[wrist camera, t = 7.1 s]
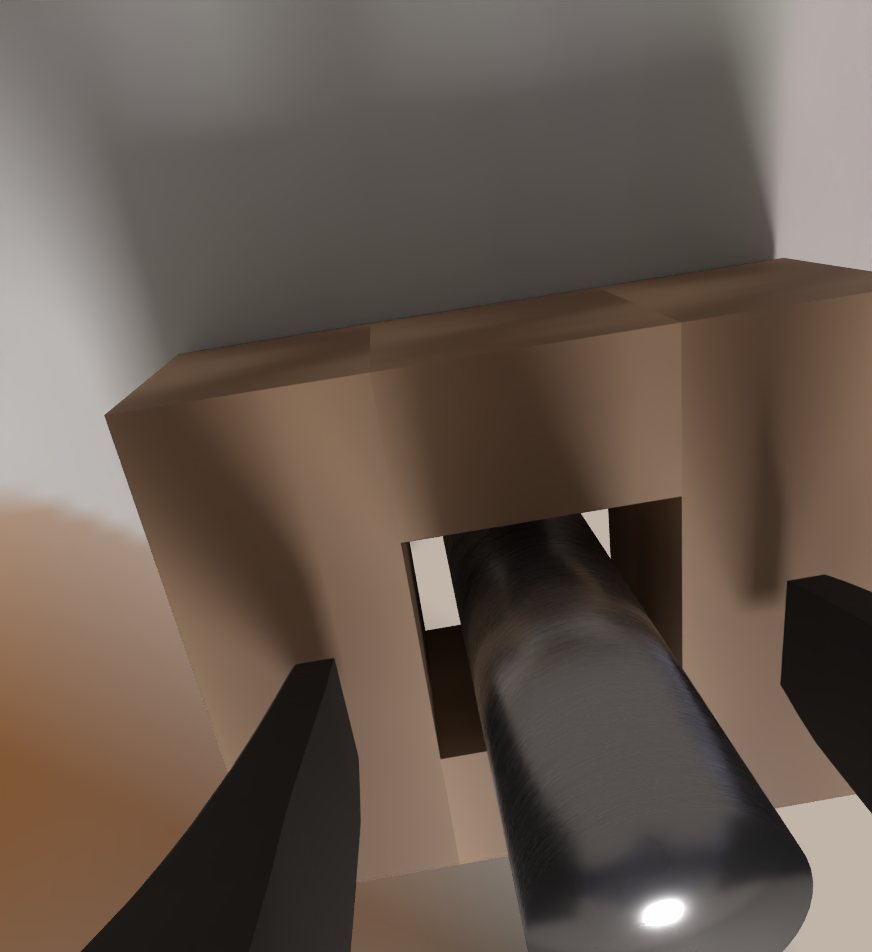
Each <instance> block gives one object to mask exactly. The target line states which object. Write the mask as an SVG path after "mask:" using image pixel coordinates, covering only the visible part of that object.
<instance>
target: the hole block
mask: <svg viewBox="0 0 872 952" xmlns="http://www.w3.org/2000/svg"><path fill="white" fill-rule="evenodd" d="M104 416H105V418H106V421H107V424H108V427H109V430H110V433H111V436H112V439H113V442H114V444H115V447H116V450H117V453H118V456H119V459H120V462H121V465H122V468H123V471H124V473H125V476H126V479H127V482H128V485H129V488H130V491H131V494H132V497H133V499H134V502H135V505H136V508H137V511H138V514H139V517H140V520H141V523H142V525H143V528H144V531H145V534H146V537H147V540H148V543H149V546H150V549H151V552H152V554H153V557H154V560H155V563H156V566H157V569H158V572H159V575H160V578H161V580H162V583H163V586H164V589H165V592H166V595H167V598H168V600H169V604H170V606H171V609H172V612H173V615H174V618H175V621H176V624H177V627H178V629H179V632H180V635H181V638H182V641H183V644H184V647H185V650H186V653H187V655H188V659H189V661H190V664H191V667H192V670H193V673H194V676H195V679H196V681H197V684H198V687H199V690H200V693H201V696H202V699H203V702H204V705H205V708H206V711H207V713H208V716H209V719H210V722H211V725H212V728H213V731H214V734H215V737H216V740H217V742H218V745H219V748H220V751H221V754H222V757H223V760H224V762H225V766H226V768H227V771H228V772H229V771H230V769H231V768H232V766H233V765H234V763H235V761H236V760H237V758H238V757H239V755H240V754H241V752H242V751H243V749H244V747H245V746H246V744H247V743H248V741H249V740H250V738H251V737H252V735H253V733H254V732H255V730H256V729H257V727H258V725H259V724H260V722H261V720H262V719H263V717H264V715H265V714H266V712H267V710H268V709H269V707H270V705H271V704H272V702H273V700H274V699H275V697H276V695H277V693H278V692H279V690H280V688H281V686H282V685H283V683H284V681H285V679H286V678H287V676H288V674H289V673H290V671H291V670H292V668H293V667H294V666H295V665H296V664H301V663H307V662H312V661H318V660H324V659H330V658H335V662H336V666H337V670H338V675H339V679H340V683H341V687H342V691H343V695H344V699H345V703H346V707H347V711H348V715H349V720H350V724H351V728H352V732H353V736H354V740H355V744H356V748H357V752H358V756H359V775H360V808H361V827H360V841H359V853H358V866H357V879H356V883H358V882H363V881H369V880H375V879H380V878H386V877H392V876H397V875H403V874H409V873H414V872H420V871H426V870H431V869H437V868H442V867H448V866H454V865H459V864H465V863H470V862H476V861H481V860H487V859H493V858H499V857H504V856H508V852H507V847H506V842H505V837H504V832H503V827H502V822H501V817H500V813H499V808H498V803H497V798H496V793H495V788H494V783H493V778H492V774H491V769H490V764H489V759H488V754H487V749H486V744H485V740H484V735H483V730H482V725H481V720H480V715H479V710H478V705H477V701H476V696H475V691H474V686H473V681H472V676H471V671H470V666H469V662H468V657H467V652H466V647H465V642H464V637H463V632H462V627H461V625H456V626H451V627H445V628H439V629H433V630H427V631H425V626H424V621H423V615H422V610H421V604H420V598H419V593H418V587H417V581H416V576H415V570H414V565H413V559H412V553H411V547H410V541H416V540H422V539H428V538H434V537H440V536H446V535H452V534H458V533H464V532H470V531H476V530H482V529H488V528H494V527H500V526H506V525H512V524H518V523H524V522H530V521H536V520H542V519H548V518H554V517H560V516H566V515H572V514H578V513H583V512H590V511H596V510H602V509H607V508H608V512H609V533H610V553H611V560H612V562H613V563H614V565H615V566H616V568H617V569H618V571H619V572H620V574H621V575H622V577H623V579H624V580H625V582H626V583H627V585H628V586H629V588H630V589H631V591H632V592H633V594H634V595H635V597H636V598H637V600H638V601H639V603H640V604H641V606H642V607H643V609H644V610H645V612H646V614H647V615H648V617H649V618H650V620H651V621H652V623H653V624H654V626H655V627H656V629H657V630H658V632H659V633H660V635H661V636H662V638H663V639H664V641H665V642H666V644H667V645H668V647H669V649H670V650H671V652H672V653H673V655H674V656H675V658H676V659H677V661H678V662H679V664H680V665H681V667H682V668H683V670H684V671H685V673H686V674H687V676H688V677H689V679H690V680H691V682H692V684H693V685H694V687H695V688H696V690H697V691H698V693H699V694H700V696H701V697H702V699H703V700H704V702H705V703H706V705H707V706H708V708H709V709H710V711H711V712H712V714H713V715H714V717H715V719H716V720H717V722H718V723H719V725H720V726H721V728H722V729H723V731H724V732H725V734H726V735H727V737H728V738H729V740H730V741H731V743H732V744H733V746H734V747H735V749H736V751H737V752H738V754H739V755H740V757H741V758H742V760H743V761H744V763H745V764H746V766H747V767H748V769H749V770H750V772H751V773H752V775H753V776H754V778H755V779H756V781H757V782H758V784H759V786H760V787H761V789H762V790H763V792H764V793H765V795H766V796H767V798H768V799H769V801H770V802H771V804H772V805H773V807H774V808H780V807H786V806H791V805H797V804H803V803H808V802H814V801H819V800H825V799H831V798H836V797H842V796H847V795H853V794H856V793H855V792H854V791H853V790H852V788H851V787H850V786H849V784H848V783H847V782H846V781H845V779H844V778H843V777H842V776H841V774H840V773H839V772H838V771H837V769H836V768H835V767H834V766H833V764H832V763H831V762H830V760H829V759H828V758H827V757H826V755H825V754H824V753H823V752H822V750H821V749H820V748H819V746H818V745H817V744H816V742H815V741H814V739H813V738H812V736H811V735H810V733H809V731H808V730H807V728H806V727H805V725H804V724H803V722H802V720H801V719H800V717H799V716H798V714H797V712H796V711H795V709H794V707H793V705H792V704H791V702H790V700H789V699H788V697H787V695H786V694H785V692H784V690H783V688H782V687H781V685H780V681H781V665H782V650H783V635H784V619H785V604H786V589H787V581H789V580H794V579H800V578H806V577H812V576H818V575H824V574H825V575H828V576H831V577H834V578H837V579H840V580H843V581H845V582H848V583H851V584H853V585H856V586H858V587H861V588H863V589H866V590H868V591H871V592H872V272H871V271H865V270H858V269H852V268H845V267H839V266H832V265H826V264H819V263H813V262H806V261H800V260H793V259H787V258H780V259H774V260H768V261H761V262H755V263H749V264H743V265H736V266H730V267H724V268H718V269H711V270H705V271H699V272H692V273H686V274H680V275H674V276H667V277H661V278H655V279H648V280H642V281H636V282H630V283H623V284H617V285H611V286H604V287H598V288H592V289H586V290H579V291H573V292H567V293H560V294H554V295H548V296H542V297H535V298H529V299H523V300H516V301H510V302H504V303H498V304H491V305H485V306H479V307H472V308H466V309H460V310H454V311H447V312H441V313H435V314H428V315H422V316H416V317H410V318H403V319H397V320H391V321H384V322H378V323H372V324H366V325H359V326H353V327H347V328H340V329H334V330H328V331H322V332H315V333H309V334H303V335H296V336H290V337H284V338H278V339H271V340H265V341H259V342H252V343H246V344H240V345H234V346H227V347H221V348H215V349H208V350H202V351H196V352H190V353H183V354H179V355H177V356H176V357H175V358H174V359H173V360H171V361H170V362H169V363H168V364H166V365H165V366H164V367H163V368H162V369H160V370H159V371H158V372H157V373H155V374H154V375H153V376H152V377H151V378H149V379H148V380H147V381H146V382H144V383H143V384H142V385H141V386H140V387H138V388H137V389H136V390H135V391H133V392H132V393H131V394H130V395H129V396H127V397H126V398H125V399H124V400H122V401H121V402H120V403H119V404H118V405H116V406H115V407H114V408H113V409H111V410H110V411H109V412H108V413H107V414H105V415H104Z"/></svg>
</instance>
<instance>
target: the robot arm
mask: <svg viewBox="0 0 872 952" xmlns="http://www.w3.org/2000/svg"><path fill="white" fill-rule="evenodd" d="M780 685H781V687H782V688H783V690H784V692H785V694H786V695H787V697H788V699H789V700H790V702H791V704H792V705H793V707H794V709H795V711H796V712H797V714H798V716H799V717H800V719H801V720H802V722H803V724H804V725H805V727H806V728H807V730H808V731H809V733H810V735H811V736H812V738H813V739H814V741H815V742H816V744H817V745H818V746H819V748H820V749H821V750H822V752H823V753H824V754H825V755H826V757H827V758H828V759H829V760H830V762H831V763H832V764H833V766H834V767H835V768H836V769H837V771H838V772H839V773H840V774H841V776H842V777H843V778H844V779H845V781H846V782H847V783H848V784H849V786H850V787H851V788H852V790H853V791H854V792H855V793H856V794H857V796H858V797H859V798H860V799H861V801H862V802H863V803H864V804H865V806H866V807H867V808H868V809H869V811H870V812H871V813H872V592H871V591H868V590H866V589H863V588H861V587H858V586H856V585H853V584H851V583H848V582H845V581H843V580H840V579H837V578H834V577H831V576H828V575H825V574H824V575H818V576H812V577H806V578H800V579H794V580H789V581H787V589H786V604H785V619H784V635H783V650H782V665H781V681H780ZM360 827H361V808H360V775H359V756H358V752H357V748H356V744H355V740H354V736H353V732H352V728H351V724H350V720H349V715H348V711H347V707H346V703H345V699H344V695H343V691H342V687H341V683H340V679H339V675H338V670H337V666H336V662H335V658H330V659H324V660H318V661H312V662H307V663H301V664H296V665H295V666H294V667H293V668H292V670H291V671H290V673H289V674H288V676H287V678H286V679H285V681H284V683H283V685H282V686H281V688H280V690H279V692H278V693H277V695H276V697H275V699H274V700H273V702H272V704H271V705H270V707H269V709H268V710H267V712H266V714H265V715H264V717H263V719H262V720H261V722H260V724H259V725H258V727H257V729H256V730H255V732H254V733H253V735H252V737H251V738H250V740H249V741H248V743H247V744H246V746H245V747H244V749H243V751H242V752H241V754H240V755H239V757H238V758H237V760H236V761H235V763H234V765H233V766H232V768H231V769H230V771H229V772H228V774H227V775H226V777H225V778H224V780H223V781H222V783H221V784H220V785H219V787H218V788H217V790H216V791H215V792H214V794H213V795H212V796H211V798H210V799H209V801H208V802H207V803H206V805H205V806H204V808H203V809H202V810H201V812H200V813H199V815H198V816H197V817H196V819H195V820H194V821H193V823H192V825H191V826H190V827H189V828H188V830H187V831H186V832H185V834H184V835H183V836H182V837H181V839H180V840H179V841H178V843H177V844H176V845H175V846H174V848H173V849H172V850H171V851H170V853H169V854H168V855H167V856H166V858H165V859H164V860H163V861H162V862H161V864H160V865H159V866H158V867H157V869H156V870H155V871H154V872H153V873H152V874H151V876H150V877H149V878H148V879H147V880H146V882H145V883H144V884H143V885H142V887H141V888H140V889H139V890H138V891H137V892H136V893H135V894H134V896H133V897H132V898H131V899H130V900H129V901H128V902H127V903H126V904H125V906H124V907H123V908H122V909H121V910H120V911H119V912H118V913H117V914H116V915H115V916H114V917H113V918H112V919H111V920H110V921H109V922H108V924H107V925H106V926H105V927H104V928H103V929H102V930H101V931H100V932H99V933H98V934H97V935H96V936H95V937H94V938H93V940H91V941H90V942H89V944H88V945H87V946H86V947H85V948H84V949H83V950H82V951H81V952H350V951H351V940H352V928H353V915H354V903H355V891H356V879H357V866H358V853H359V841H360Z"/></svg>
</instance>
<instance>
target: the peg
mask: <svg viewBox="0 0 872 952" xmlns="http://www.w3.org/2000/svg"><path fill="white" fill-rule="evenodd" d="M443 539H444V545H445V549H446V554H447V559H448V564H449V569H450V573H451V579H452V584H453V588H454V593H455V598H456V603H457V608H458V613H459V617H460V622H461V627H462V632H463V637H464V642H465V647H466V652H467V657H468V662H469V666H470V671H471V676H472V681H473V686H474V691H475V696H476V701H477V705H478V710H479V715H480V720H481V725H482V730H483V735H484V740H485V744H486V749H487V754H488V759H489V764H490V769H491V774H492V778H493V783H494V788H495V793H496V798H497V803H498V808H499V813H500V817H501V822H502V827H503V832H504V837H505V842H506V847H507V852H508V856H509V861H510V866H511V871H512V876H513V881H514V885H515V890H516V895H517V900H518V905H519V910H520V915H521V920H522V925H523V929H524V934H525V939H526V944H527V948H528V952H782V951H783V950H784V949H785V948H786V947H787V946H788V945H789V944H790V942H791V941H792V940H793V938H794V937H795V936H796V934H797V933H798V931H799V929H800V928H801V926H802V924H803V922H804V921H805V918H806V916H807V913H808V910H809V908H810V903H811V899H812V894H813V893H812V892H813V879H812V873H811V868H810V865H809V863H808V860H807V858H806V856H805V854H804V853H803V851H802V850H801V848H800V847H799V845H798V844H797V842H796V840H795V839H794V837H793V836H792V834H791V833H790V831H789V830H788V828H787V827H786V825H785V824H784V822H783V821H782V819H781V817H780V816H779V815H778V813H777V812H776V810H775V808H774V807H773V805H772V804H771V802H770V801H769V799H768V798H767V796H766V795H765V793H764V792H763V790H762V789H761V787H760V786H759V784H758V782H757V781H756V779H755V778H754V776H753V775H752V773H751V772H750V770H749V769H748V767H747V766H746V764H745V763H744V761H743V760H742V758H741V757H740V755H739V754H738V752H737V751H736V749H735V747H734V746H733V744H732V743H731V741H730V740H729V738H728V737H727V735H726V734H725V732H724V731H723V729H722V728H721V726H720V725H719V723H718V722H717V720H716V719H715V717H714V715H713V714H712V712H711V711H710V709H709V708H708V706H707V705H706V703H705V702H704V700H703V699H702V697H701V696H700V694H699V693H698V691H697V690H696V688H695V687H694V685H693V684H692V682H691V680H690V679H689V677H688V676H687V674H686V673H685V671H684V670H683V668H682V667H681V665H680V664H679V662H678V661H677V659H676V658H675V656H674V655H673V653H672V652H671V650H670V649H669V647H668V645H667V644H666V642H665V641H664V639H663V638H662V636H661V635H660V633H659V632H658V630H657V629H656V627H655V626H654V624H653V623H652V621H651V620H650V618H649V617H648V615H647V614H646V612H645V610H644V609H643V607H642V606H641V604H640V603H639V601H638V600H637V598H636V597H635V595H634V594H633V592H632V591H631V589H630V588H629V586H628V585H627V583H626V582H625V580H624V579H623V577H622V575H621V574H620V572H619V571H618V569H617V568H616V566H615V565H614V563H613V562H612V560H611V559H610V557H609V556H608V554H607V553H606V551H605V550H604V548H603V547H602V545H601V544H600V542H599V541H598V539H597V537H596V536H595V534H594V533H593V531H592V530H591V528H590V527H589V525H588V524H587V522H586V521H585V519H584V518H583V516H582V515H581V513H578V514H572V515H566V516H560V517H554V518H548V519H542V520H536V521H530V522H524V523H518V524H512V525H506V526H500V527H494V528H488V529H482V530H476V531H470V532H464V533H458V534H452V535H446V536H443Z"/></svg>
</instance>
